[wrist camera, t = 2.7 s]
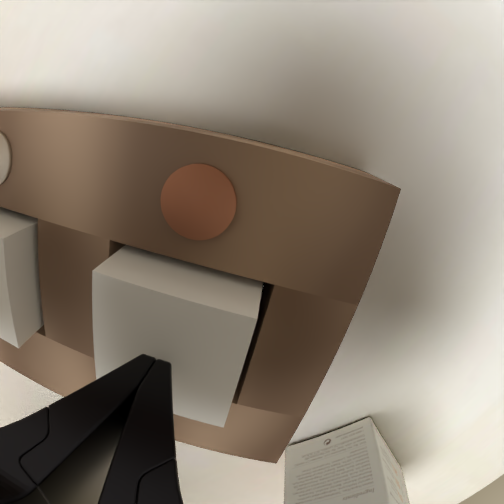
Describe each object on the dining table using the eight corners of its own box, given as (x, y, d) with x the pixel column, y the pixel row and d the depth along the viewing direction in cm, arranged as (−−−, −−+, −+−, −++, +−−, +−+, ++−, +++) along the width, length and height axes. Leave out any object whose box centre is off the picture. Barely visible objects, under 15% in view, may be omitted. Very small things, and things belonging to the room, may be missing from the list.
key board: (365, 172, 11) (403, 190, 8) (279, 402, 16) (276, 466, 12) (-62, 108, 12) (-107, 115, 8) (-58, 269, 16) (-94, 291, 12)
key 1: (264, 269, 10) (257, 318, 8) (235, 369, 12) (223, 427, 9) (137, 235, 11) (92, 270, 8) (129, 338, 12) (97, 386, 9)
